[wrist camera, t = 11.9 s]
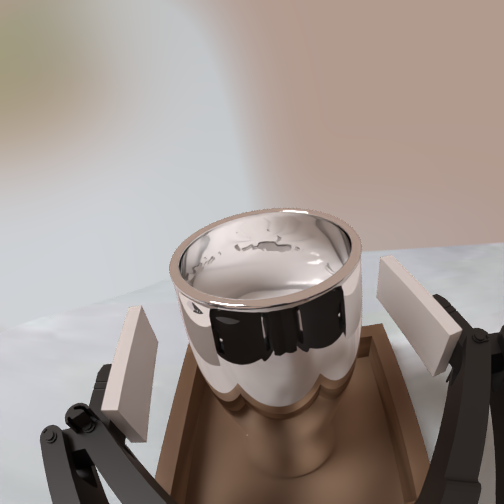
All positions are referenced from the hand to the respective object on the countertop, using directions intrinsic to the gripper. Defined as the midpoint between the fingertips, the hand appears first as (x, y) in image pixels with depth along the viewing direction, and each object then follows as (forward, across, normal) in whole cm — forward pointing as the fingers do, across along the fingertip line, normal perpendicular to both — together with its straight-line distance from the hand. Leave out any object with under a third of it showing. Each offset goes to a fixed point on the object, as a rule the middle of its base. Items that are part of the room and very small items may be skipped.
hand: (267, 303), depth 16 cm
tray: (-3, 0, -11) cm, 11 cm away
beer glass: (-3, 0, -10) cm, 11 cm away
